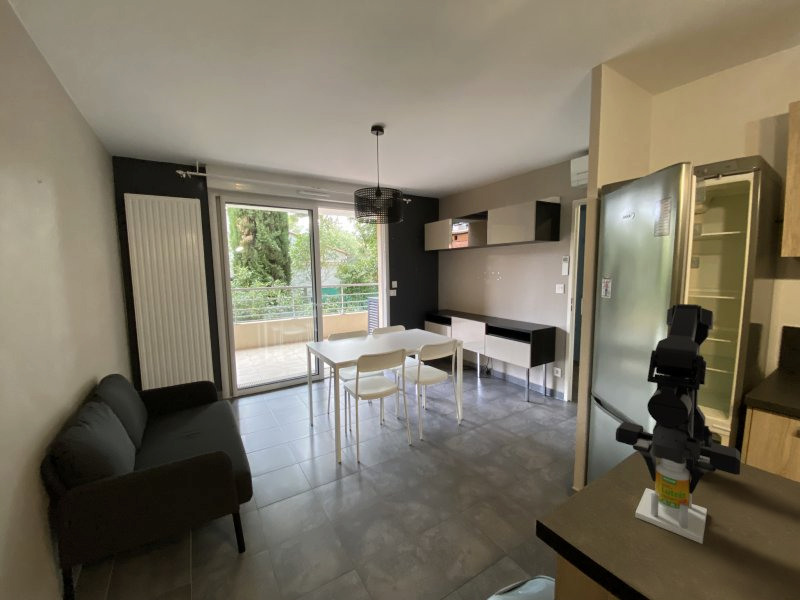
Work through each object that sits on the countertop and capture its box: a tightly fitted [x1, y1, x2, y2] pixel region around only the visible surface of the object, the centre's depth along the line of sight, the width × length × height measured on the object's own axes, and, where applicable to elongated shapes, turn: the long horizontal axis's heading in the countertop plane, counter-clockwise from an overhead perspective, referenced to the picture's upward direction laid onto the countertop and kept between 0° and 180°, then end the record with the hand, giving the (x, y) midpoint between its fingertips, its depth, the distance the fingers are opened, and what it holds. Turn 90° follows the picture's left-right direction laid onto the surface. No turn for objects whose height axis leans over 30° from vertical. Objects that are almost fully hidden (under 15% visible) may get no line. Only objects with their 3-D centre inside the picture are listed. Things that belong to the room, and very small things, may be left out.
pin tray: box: [634, 487, 708, 545], centre depth 68 cm, size 11×10×5 cm
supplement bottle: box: [654, 458, 691, 511], centre depth 68 cm, size 5×5×10 cm
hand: (672, 486), depth 68 cm, fingers closed on supplement bottle, 5 cm apart
